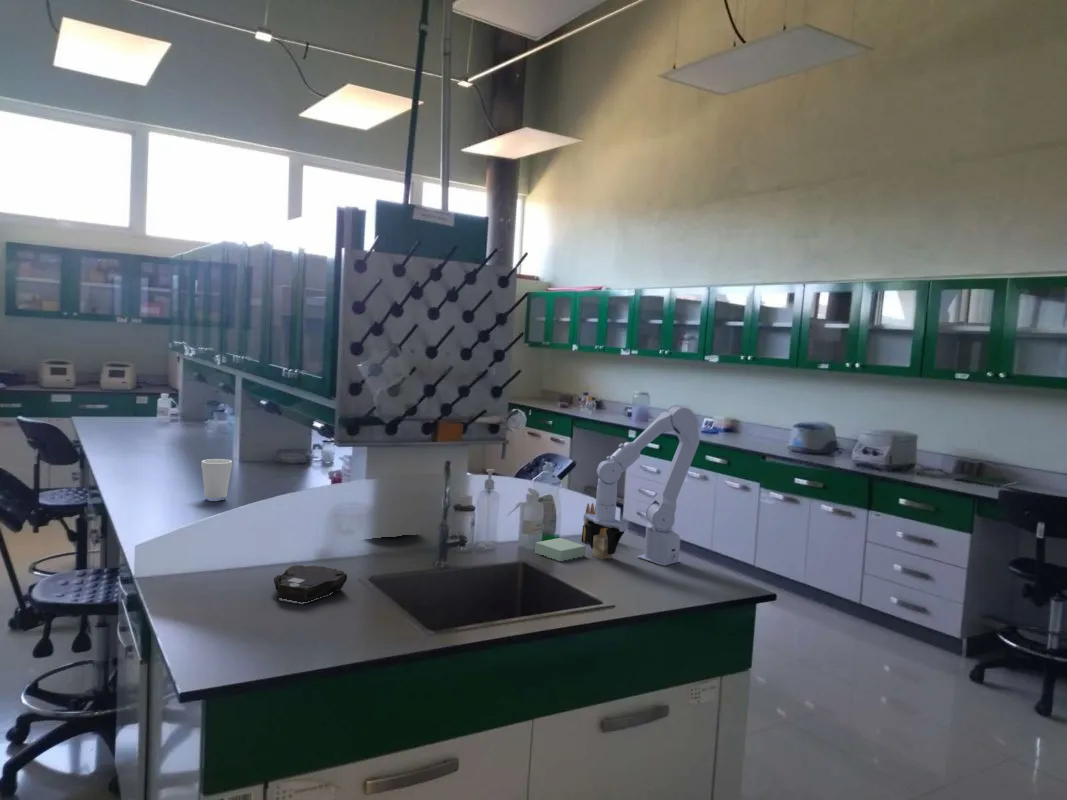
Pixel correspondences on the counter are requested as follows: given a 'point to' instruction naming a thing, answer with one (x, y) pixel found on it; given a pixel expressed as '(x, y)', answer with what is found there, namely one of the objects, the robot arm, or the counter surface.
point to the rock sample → (308, 582)
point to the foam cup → (216, 477)
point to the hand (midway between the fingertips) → (602, 551)
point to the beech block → (601, 547)
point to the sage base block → (560, 549)
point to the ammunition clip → (584, 533)
